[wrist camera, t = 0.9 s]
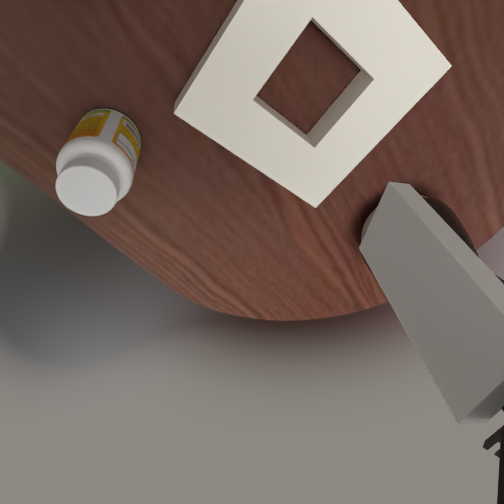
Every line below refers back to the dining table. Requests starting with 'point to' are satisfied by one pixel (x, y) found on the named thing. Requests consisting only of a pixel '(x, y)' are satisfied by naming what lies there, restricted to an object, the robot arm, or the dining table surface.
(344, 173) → the socket holder
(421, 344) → the robot arm
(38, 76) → the dining table surface
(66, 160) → the supplement bottle
